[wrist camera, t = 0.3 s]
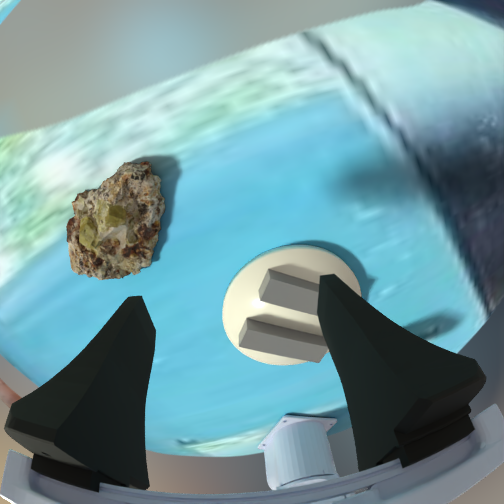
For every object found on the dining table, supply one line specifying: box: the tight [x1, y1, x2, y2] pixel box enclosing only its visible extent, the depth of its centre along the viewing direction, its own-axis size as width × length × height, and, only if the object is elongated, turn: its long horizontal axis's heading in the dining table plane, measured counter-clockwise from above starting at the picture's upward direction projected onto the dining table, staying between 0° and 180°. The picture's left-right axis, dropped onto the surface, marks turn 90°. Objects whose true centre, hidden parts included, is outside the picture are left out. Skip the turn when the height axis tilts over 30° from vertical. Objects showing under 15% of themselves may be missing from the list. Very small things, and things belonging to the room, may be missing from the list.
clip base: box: [223, 245, 361, 365], centre depth 23 cm, size 12×12×2 cm
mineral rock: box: [66, 161, 165, 280], centre depth 20 cm, size 11×4×8 cm
